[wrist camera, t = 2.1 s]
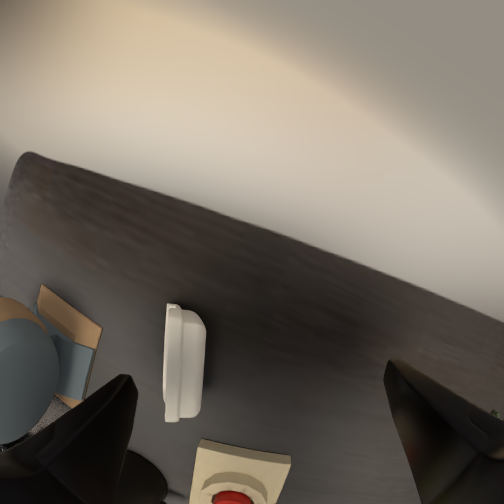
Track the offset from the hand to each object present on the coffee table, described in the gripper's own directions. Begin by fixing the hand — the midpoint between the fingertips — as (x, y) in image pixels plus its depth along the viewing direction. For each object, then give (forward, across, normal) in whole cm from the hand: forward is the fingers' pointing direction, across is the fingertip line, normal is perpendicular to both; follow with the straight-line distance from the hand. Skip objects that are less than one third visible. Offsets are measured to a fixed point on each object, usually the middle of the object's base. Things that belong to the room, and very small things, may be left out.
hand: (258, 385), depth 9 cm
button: (+4, +4, +23) cm, 23 cm away
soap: (+10, +8, +7) cm, 15 cm away
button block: (+7, +4, +24) cm, 25 cm away
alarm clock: (+14, +23, +10) cm, 29 cm away
